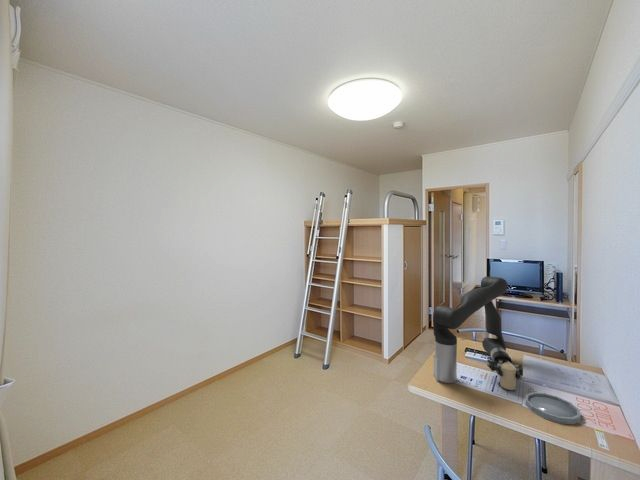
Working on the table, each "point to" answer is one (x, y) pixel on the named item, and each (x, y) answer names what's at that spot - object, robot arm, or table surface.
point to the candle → (508, 376)
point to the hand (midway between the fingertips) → (509, 375)
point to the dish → (553, 408)
